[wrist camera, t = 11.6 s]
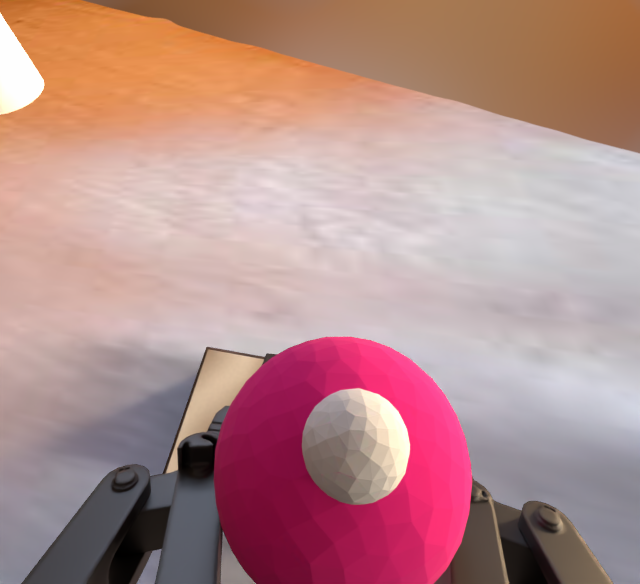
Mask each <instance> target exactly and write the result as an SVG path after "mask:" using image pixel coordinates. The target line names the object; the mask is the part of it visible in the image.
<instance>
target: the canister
mask: <svg viewBox="0 0 640 584" xmlns="http://www.w3.org/2000/svg"><path fill="white" fill-rule="evenodd" d="M43 88H44V81H43V79H42V77H41V75H40V74H39V72H38V71H37V69H36V68H35V66H34V65H33V63H32V62H31V60H30V58H29V57H28V55H27V54H26V52H25V51H24V49H23V48H22V46H21V45H20V43H19V41H18V40H17V38H16V37H15V35H14V34H13V32H12V31H11V29H10V28H9V26H8V25H7V23H6V21H5V20H4V18H3V17H2V15H1V14H0V115H1V114H6V113H10V112H13V111H16V110H18V109H20V108H23V107H25V106H26V105H28V104H30V103H31V102H33V101H34V100H35V99H36V98H37V97H38V96H39V95H40V94H41V92H42V90H43Z"/></svg>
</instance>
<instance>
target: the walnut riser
mask: <svg viewBox="0 0 640 584" xmlns="http://www.w3.org/2000/svg"><path fill="white" fill-rule="evenodd" d="M264 359H265V357H262V356H256V355H250V354H245V353H239V352H234V351H228V350H223V349H217V348H212V347H206V350H205V353H204V356H203V359H202V362H201V365H200V368H199V370H198V373H197V376H196V379H195V382H194V385H193V388H192V391H191V394H190V397H189V399H188V402H187V405H186V408H185V411H184V414H183V417H182V420H181V423H180V425H179V428H178V431H177V434H176V437H175V440H174V443H173V446H172V449H171V451H170V454H169V457H168V460H167V463H166V466H165V469H164V472H163V474H166V473H170V472H174V471H176V470H178V456H177V447H178V446H179V444H180V442H181V441H182V440H183V439H185V438H186V437H188V436H190V435H192V434H195V433H200V432H206V431H208V428H209V426H210V424H211V423H212V420H213V418H214V416H215V414H216V413H217V412H218V411H219V410H220V409H222V408H223V407H224V406H230V405H231V403H232V401H233V400H234V398H235V397H236V395H237V394H238V393H239V391H240V390H241V388H242V387H243V385H244V384H245V382H246V381H247V380H248V379H249V378H250V377H251V376H252V375H253V374H254V373H255V372H256V371H257V370H258V369H259V368H260V367H261V366H262V364H263V361H264Z"/></svg>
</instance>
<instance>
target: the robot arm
mask: <svg viewBox="0 0 640 584" xmlns="http://www.w3.org/2000/svg"><path fill="white" fill-rule="evenodd" d="M276 355H277V354H266V356H265V359H264V361H263V364H264V363H266V362H267V361H268V360H269V359H271V358H272V357H274V356H276ZM263 364H262V365H263ZM229 407H230V406H224V407H223V408H222V409H220V410H219V411H218V412H217V413H216V414H215V416H214V418H213V420H212V423H211V424H210V426H209V428H208V431H206V432H200V433H195V434H192V435H190V436H188V437H186V438H185V439H183V440H182V441H181V442H180V444H179V446H178V447H177V456H178V470H176V471H174V472H170V473H166V474H160V475H154V476H150V473H149V470H148V469H147V468H146V467H144V466H141V465H137V464H134V465H126V466H122V467H119V468H117V469H115V470H113V471H112V472H110V473H109V474H108V475H106V476H105V477H104V478H103V479H102V481H101V482H100V483H99V484H98V486H97V487H96V488H95V490H94V491H93V492H92V493H91V495H90V496H89V497H88V499H87V500H86V501H85V502H84V504H83V505H82V506H81V508H80V509H79V510H78V511H77V513H76V514H75V515H74V517H73V518H72V519H71V520H70V522H69V523H68V524H67V526H66V527H65V528H64V529H63V531H62V532H61V533H60V535H59V536H58V537H57V538H56V540H55V541H54V542H53V544H52V545H51V546H50V547H49V549H48V550H47V551H46V553H45V554H44V555H43V556H42V558H41V559H40V560H39V562H38V563H37V564H36V565H35V567H34V568H33V569H32V571H31V572H30V573H29V574H28V576H27V577H26V578H25V580H24V581H23V582H22V583H21V584H137V582H138V580H139V578H140V576H141V574H142V572H143V569H144V567H145V565H146V563H147V561H148V559H149V557H150V555H151V553H152V551H153V550H158V549H162V551H161V556H160V561H159V566H158V571H157V576H156V581H155V584H220V578H221V555H222V532H223V529H222V527H221V523H220V519H219V514H218V510H217V505H216V499H215V488H214V464H215V449H216V445H217V441H218V437H219V433H220V429H221V425H222V423H223V421H224V418H225V416H226V414H227V412H228V409H229ZM434 584H613V582H612V581H611V579H610V578H609V576H608V575H607V573H606V572H605V571H604V569H603V568H602V566H601V565H600V563H599V562H598V560H597V559H596V557H595V556H594V555H593V553H592V552H591V550H590V549H589V547H588V546H587V544H586V543H585V541H584V540H583V539H582V537H581V536H580V534H579V533H578V531H577V530H576V528H575V527H574V526H573V524H572V523H571V521H570V520H569V519H568V518H567V517H566V516H565V515H564V514H563V513H561V512H560V511H559V510H557V509H556V508H554V507H552V506H550V505H548V504H546V503H542V502H538V501H528V502H527V503H525V504H524V505H523V508H522V511H521V510H518V509H515V508H512V507H509V506H506V505H503V504H501V503H498V502H496V501H494V500H493V499H492V497H491V495H490V493H489V492H488V491H487V489H486V488H485V487H484V486H482V485H481V484H479V483H478V482H476V481H474V479H473V477H472V489H471V499H470V509H469V515H468V519H467V523H466V527H465V530H464V534H463V538H462V542H461V544H460V546H459V548H458V550H457V551H456V553H455V555H454V557H453V559H452V560H451V562H450V564H449V566H448V568H447V569H446V571H445V572H444V573H443V574H442V575H441V576H440V577H439V578H438V580H437V581H436V582H435V583H434Z"/></svg>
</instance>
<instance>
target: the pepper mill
mask: <svg viewBox="0 0 640 584" xmlns="http://www.w3.org/2000/svg"><path fill="white" fill-rule="evenodd" d="M214 488H215V499H216V505H217V510H218V514H219V519H220V523H221V527H222V529H223V532H224V534H225V536H226V539H227V541H228V543H229V545H230V548H231V550H232V552H233V553H234V555H235V556H236V558H237V560H238V561H239V563H240V565H241V566H242V567H243V569H244V570H245V572H246V573H247V574H248V575H249V576H250V577H251V579H252V580H253V581H254V582H255V583H256V584H434V583H435V582H436V581H437V580H438V578H439V577H440V576H441V575H442V574H443V573H444V572H445V571H446V569H447V568H448V566H449V564H450V562H451V560H452V559H453V557H454V555H455V553H456V551H457V550H458V548H459V546H460V544H461V542H462V538H463V534H464V530H465V527H466V523H467V519H468V515H469V509H470V499H471V489H472V475H471V463H470V458H469V454H468V449H467V444H466V439H465V436H464V433H463V431H462V428H461V426H460V423H459V420H458V418H457V415H456V413H455V412H454V410H453V408H452V406H451V405H450V403H449V401H448V399H447V398H446V396H445V395H444V393H443V392H442V391H441V389H440V388H439V387H438V386H437V384H436V383H435V382H434V380H433V379H432V378H431V377H430V376H428V375H427V374H426V373H425V372H424V371H423V370H422V369H421V368H419V367H418V366H417V365H416V364H415V363H414V362H413V361H412V360H411V359H409V358H408V357H406V356H404V355H402V354H401V353H399V352H397V351H395V350H394V349H392V348H390V347H387V346H385V345H382V344H379V343H376V342H374V341H371V340H365V339H359V338H354V337H324V338H319V339H315V340H310V341H306V342H304V343H301V344H299V345H296V346H293V347H291V348H288V349H286V350H285V351H283V352H281V353H279V354H277V355H276V356H274V357H272V358H271V359H269V360H268V361H267V362H266V363H264V364H263V365H262V366H261V367H260V368H259V369H258V370H257V371H256V372H255V373H254V374H253V375H252V376H251V377H250V378H249V379H248V380H247V381H246V382H245V384H244V385H243V387H242V388H241V390H240V391H239V393H238V394H237V395H236V397H235V398H234V400H233V401H232V403H231V405H230V407H229V409H228V412H227V414H226V416H225V418H224V421H223V423H222V425H221V429H220V433H219V437H218V441H217V445H216V449H215V464H214Z"/></svg>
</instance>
